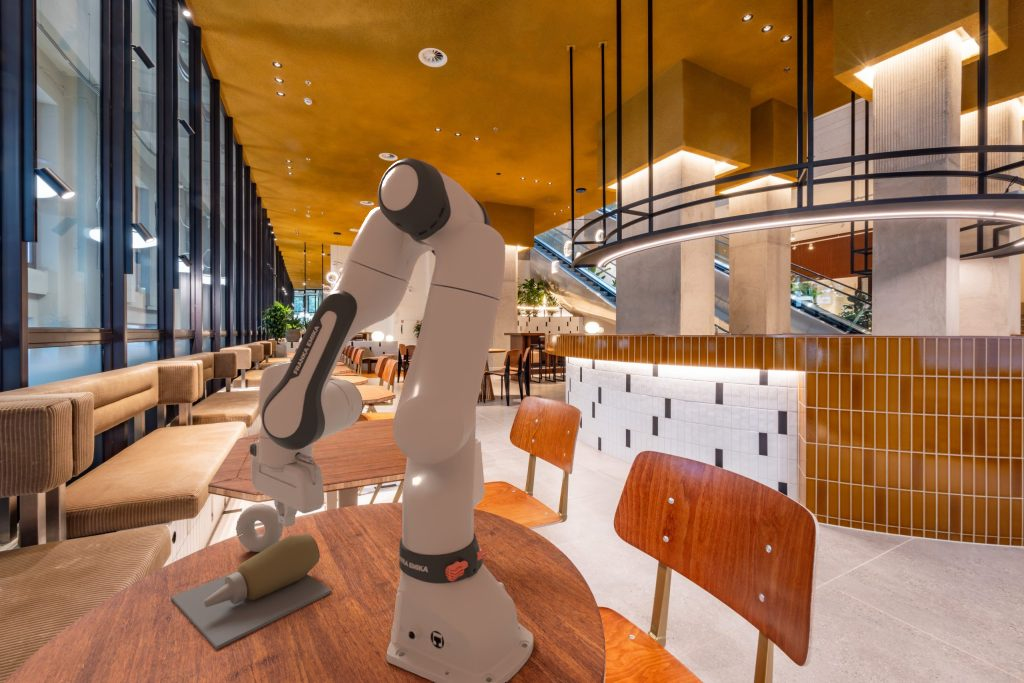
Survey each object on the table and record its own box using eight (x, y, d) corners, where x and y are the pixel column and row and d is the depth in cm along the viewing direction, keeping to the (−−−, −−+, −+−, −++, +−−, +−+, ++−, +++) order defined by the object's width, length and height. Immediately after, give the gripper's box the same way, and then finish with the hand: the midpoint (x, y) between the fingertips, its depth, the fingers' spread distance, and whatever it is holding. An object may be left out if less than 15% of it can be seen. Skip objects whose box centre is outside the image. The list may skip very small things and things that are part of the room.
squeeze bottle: (329, 562, 81) (222, 623, 67) (311, 574, 86) (206, 633, 71) (312, 522, 83) (204, 572, 69) (295, 535, 88) (190, 585, 73)
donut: (286, 548, 94) (286, 502, 94) (276, 556, 91) (276, 508, 91) (243, 546, 96) (243, 500, 95) (232, 553, 92) (231, 506, 92)
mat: (331, 592, 78) (331, 589, 78) (216, 649, 64) (216, 646, 64) (278, 558, 90) (278, 555, 90) (171, 599, 76) (171, 596, 76)
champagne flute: (464, 544, 97) (465, 435, 96) (490, 551, 94) (491, 439, 93) (446, 557, 91) (446, 441, 91) (473, 566, 88) (473, 446, 87)
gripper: (333, 454, 77) (333, 533, 77) (278, 437, 89) (278, 505, 89) (297, 462, 72) (297, 547, 72) (244, 443, 84) (244, 515, 84)
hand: (286, 524), depth 81 cm, fingers closed
